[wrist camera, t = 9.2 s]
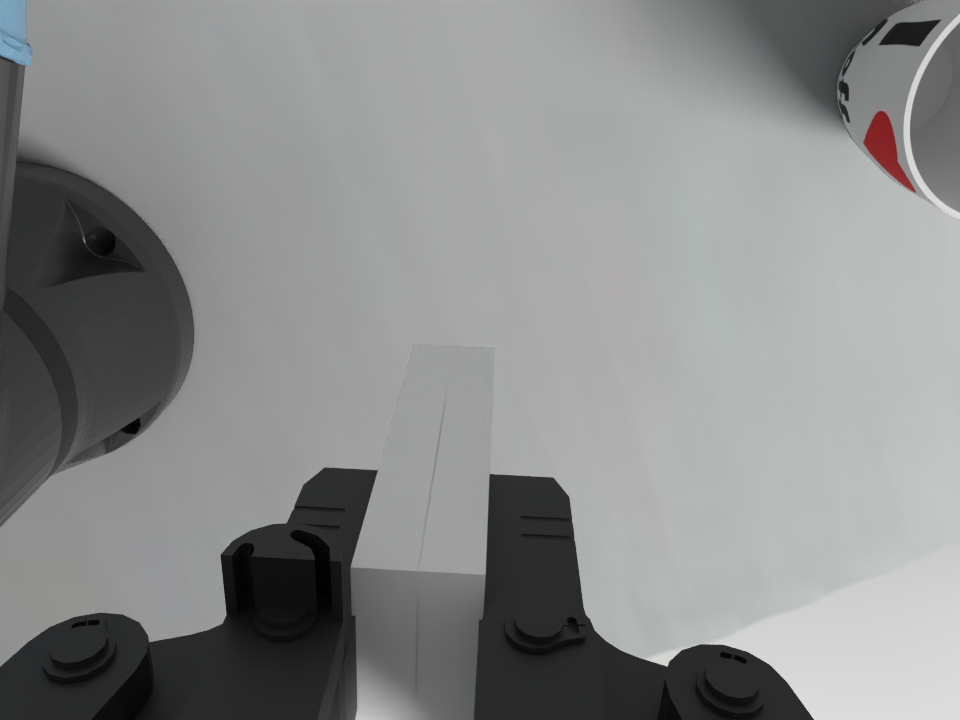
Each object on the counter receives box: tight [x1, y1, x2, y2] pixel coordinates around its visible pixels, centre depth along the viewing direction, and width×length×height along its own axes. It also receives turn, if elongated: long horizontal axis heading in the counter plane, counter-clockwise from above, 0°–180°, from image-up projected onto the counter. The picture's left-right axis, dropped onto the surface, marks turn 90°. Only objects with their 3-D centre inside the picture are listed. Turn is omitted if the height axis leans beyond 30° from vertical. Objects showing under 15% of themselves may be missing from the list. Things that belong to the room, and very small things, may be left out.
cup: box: [837, 0, 960, 220], centre depth 31 cm, size 8×8×10 cm
